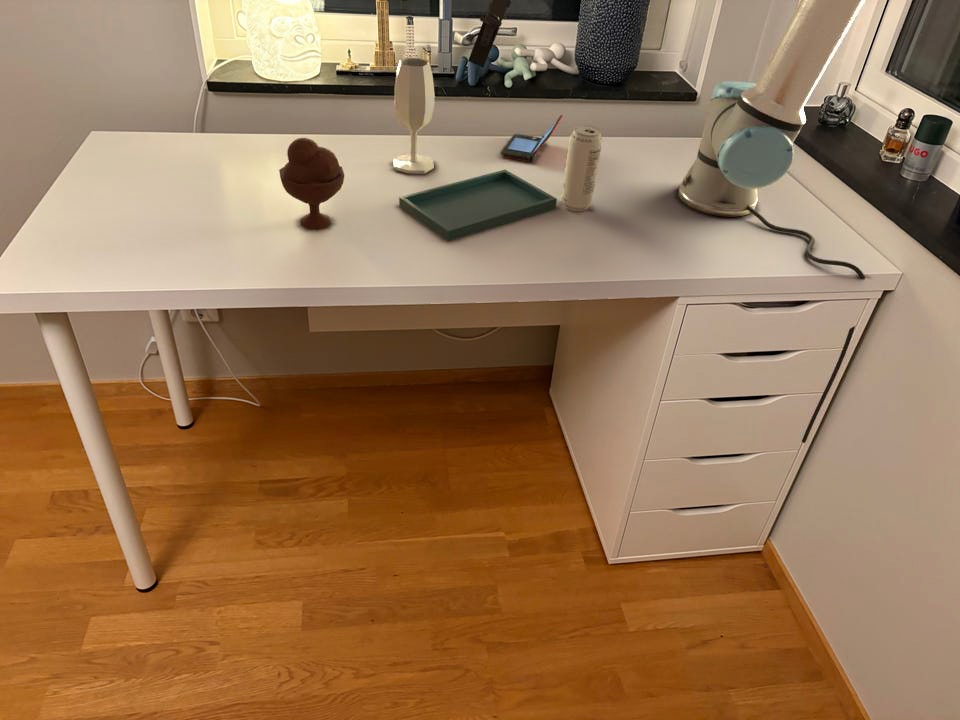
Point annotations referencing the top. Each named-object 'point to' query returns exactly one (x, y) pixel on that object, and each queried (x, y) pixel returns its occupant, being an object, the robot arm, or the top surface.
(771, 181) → the robot arm
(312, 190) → the ice cream bowl
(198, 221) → the top surface
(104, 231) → the top surface
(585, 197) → the energy drink can
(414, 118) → the wineglass
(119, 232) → the top surface
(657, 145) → the top surface
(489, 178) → the tray
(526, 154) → the handheld console
